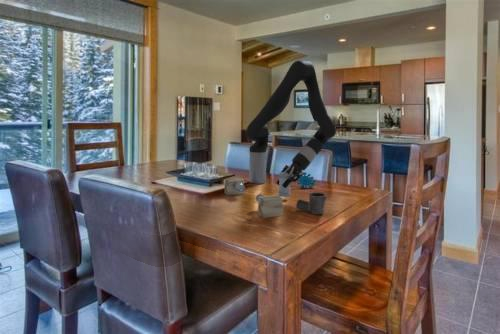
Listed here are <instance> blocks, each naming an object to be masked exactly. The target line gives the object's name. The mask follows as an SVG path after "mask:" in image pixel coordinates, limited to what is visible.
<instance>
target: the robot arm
mask: <svg viewBox="0 0 500 334" xmlns="http://www.w3.org/2000/svg"><path fill="white" fill-rule="evenodd" d="M301 81H302V82H303V83H304V86H305V87H306V91H307V105H308V108H309V112H310V114H311V117H312V119H313V121H314V122H316V123H317V124H318V127H319V128H318V129H317V130H316V132H315V133H314V134H313V136H312V137H311V138H310V139H309V140H308V141H307V143H306V144H305V145H304V146H303V147H302V148H301V149H300V150H298V152H297V154H296V155H295V156H293V158H292V160H291V162H292V163H291V164H289V166H288V164H285V165H284V167H283V168H282V170H281V171H280V173H290V176H289V177H288V179H287V180H286V181H285V182H284V183H283V184H282V186H283V187H284V188H286V187H287V186H288V185H289V184H290V185H291V183H296V182H298V181H297V180H298V179H299V178H300V177H301V176H304V171H306V169H307V168H308V167H309V166H310V165H311V164H312V162H314V161H315V159H316V157H317V155H318V154H319V153H320V152H321V151H322V149H323V148H324V146H325V145H326V144H327V143H328V141H330V140H331V139H332V138H333V137H335V136H336V133H337V128H336V125H335V123H334V121H333V120H332V118H331V117H330V115H329V114H328V111H327V109H326V106H325V103H324V100H323V99H322V98H323V97H322V95H321V90H320V87H319V83H318V79H317V73H316V69H315V66H314V64H313V62H311V61H308V60H296V61H294V62H293V63H291V65H290V67H289V68H288V70H287V71H286V73H285V75H284V77H283V79H282V80H281V82H280V84H278V86H277V88H276V89H275V91H274V92H273V93H272V95H271V96H270V97H269V99H268V100H267V102H265V104H264V106H263V107H262V109H261V110H260V111H259V113H257V115H256V116H255V118H253V119H252V120H251V122H250V123H249V124H247V127H246V137H247V138H249V140H252V141H253V140H254V143H253V144H251V145H250V146H249V166H248V167H249V168H248V169H249V172H248V173H249V177H248V178H249V179H248V180H249V181H248V182H249V183H250V184H254V185H255V184H260V185H261V184H265V183H267V180H266V179H267V149H268V145H269V126H268V125H267V124H268V123H269V122H271V121H272V120H274V119H275V118H277V117H278V116H279V115H280V114H282V112H283V111H284V110H285V109H286V107H287V106H288V105H289V103H290V100H291V94H292V91H293V90H294V89H295V87H296V86H297V84H298V83H300V82H301ZM299 180H300V179H299ZM276 184H277V185H278V186H279V179H278V180H277V181H276Z"/></svg>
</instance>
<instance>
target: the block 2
mask: <svg viewBox="0 0 500 334" xmlns="http://www.w3.org/2000/svg"><path fill="white" fill-rule="evenodd" d="M283 205H284V197H282V196H278V194H273V195H264V196H263V197H258V202H257V214H258V215H259V216H260V217H261V218H263V219H267V218H273V217H282V216H283V209H284V208H283Z"/></svg>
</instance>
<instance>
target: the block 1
mask: <svg viewBox="0 0 500 334" xmlns="http://www.w3.org/2000/svg"><path fill="white" fill-rule="evenodd" d="M234 182H238V183H240V184H242V185H244V186H245V180H244V179H243V178H240V177H236V178H234V177H233V178H224V194H225V195H227V196H238V195H244V193H245V191H244V192H239V191H237V190H235V189H234V188H233V183H234Z"/></svg>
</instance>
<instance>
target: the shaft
mask: <svg viewBox="0 0 500 334" xmlns="http://www.w3.org/2000/svg"><path fill="white" fill-rule="evenodd" d="M263 196H265V195H264V194H262V193H258V194H257V195H256V196H255V201H256V202H257V203H258V197H263Z"/></svg>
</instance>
